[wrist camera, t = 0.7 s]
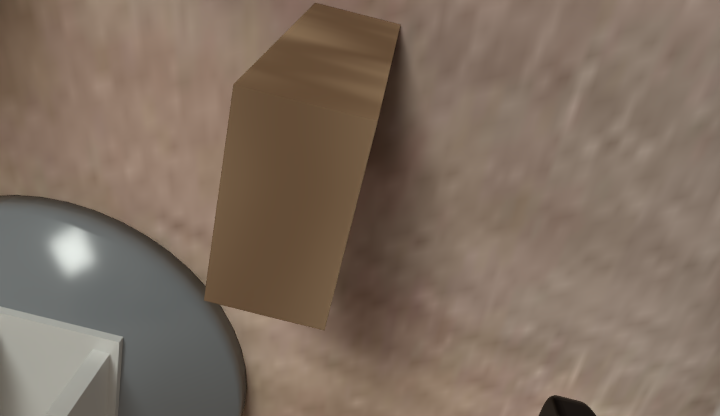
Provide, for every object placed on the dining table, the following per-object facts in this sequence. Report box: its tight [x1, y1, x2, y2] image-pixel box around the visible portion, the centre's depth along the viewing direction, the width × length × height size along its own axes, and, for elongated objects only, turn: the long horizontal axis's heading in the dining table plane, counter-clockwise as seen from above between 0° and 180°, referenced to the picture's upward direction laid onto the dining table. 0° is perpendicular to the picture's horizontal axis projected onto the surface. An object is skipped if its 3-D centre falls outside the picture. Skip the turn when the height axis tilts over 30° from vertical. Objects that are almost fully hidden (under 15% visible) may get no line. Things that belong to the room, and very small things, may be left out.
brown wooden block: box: [204, 3, 400, 330], centre depth 15 cm, size 2×4×8 cm, turn 167°
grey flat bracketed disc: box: [0, 195, 247, 416], centre depth 22 cm, size 14×14×4 cm
